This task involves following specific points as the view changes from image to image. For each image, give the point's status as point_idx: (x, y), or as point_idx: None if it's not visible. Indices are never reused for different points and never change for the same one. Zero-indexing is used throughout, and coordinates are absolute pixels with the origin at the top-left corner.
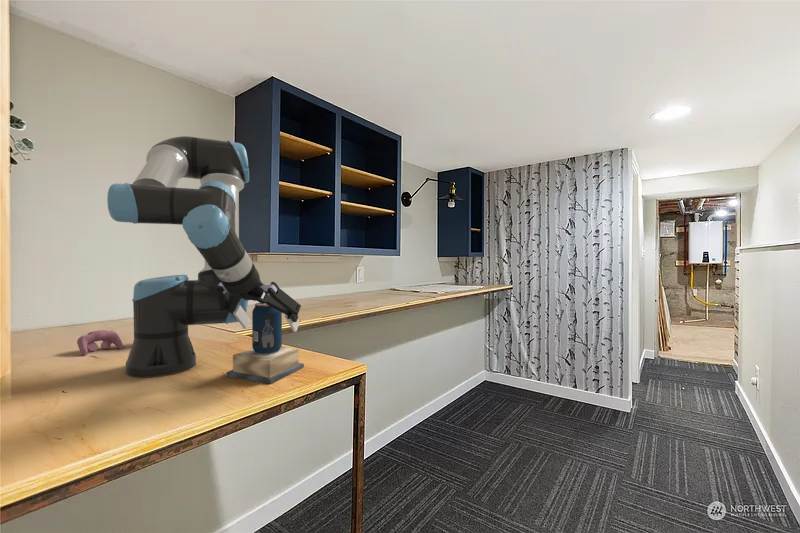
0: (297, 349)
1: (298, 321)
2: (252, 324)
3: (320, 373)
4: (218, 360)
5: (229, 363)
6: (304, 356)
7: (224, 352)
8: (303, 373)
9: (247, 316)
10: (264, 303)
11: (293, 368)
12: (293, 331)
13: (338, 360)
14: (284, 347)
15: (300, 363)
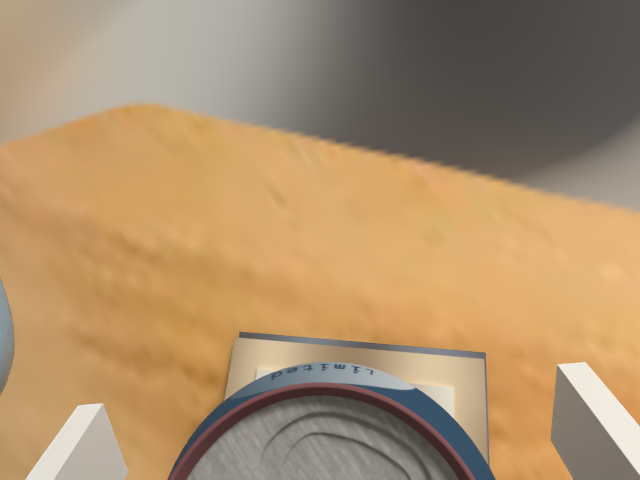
0: (483, 368)
1: (600, 384)
2: None
3: None
4: (35, 395)
5: None
6: (384, 211)
7: (6, 281)
8: (536, 440)
9: (71, 462)
10: (207, 447)
11: (487, 445)
12: (555, 442)
13: (566, 209)
14: (386, 357)
15: (468, 356)
